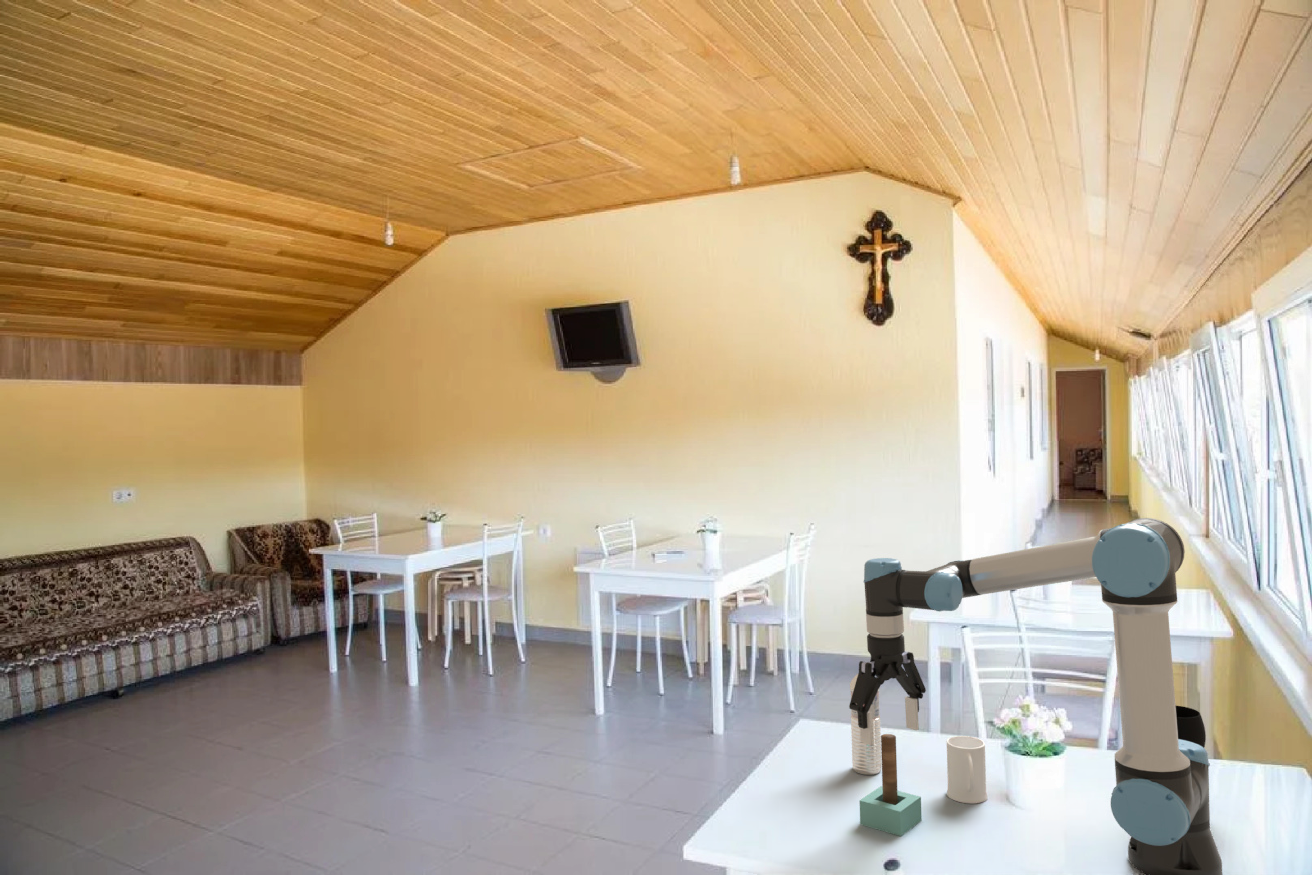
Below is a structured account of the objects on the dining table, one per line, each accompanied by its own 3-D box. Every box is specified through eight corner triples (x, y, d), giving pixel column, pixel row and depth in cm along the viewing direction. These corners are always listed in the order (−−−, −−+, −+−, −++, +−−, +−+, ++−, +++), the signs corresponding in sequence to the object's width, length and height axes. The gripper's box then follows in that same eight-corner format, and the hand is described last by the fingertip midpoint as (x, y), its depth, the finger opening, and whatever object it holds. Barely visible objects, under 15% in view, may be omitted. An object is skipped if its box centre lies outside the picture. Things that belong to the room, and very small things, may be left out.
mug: (990, 811, 196) (988, 755, 196) (948, 808, 198) (946, 752, 198) (985, 789, 207) (984, 736, 207) (946, 786, 210) (944, 734, 209)
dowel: (901, 822, 192) (898, 736, 192) (891, 826, 190) (888, 739, 190) (890, 817, 195) (887, 732, 194) (880, 821, 193) (877, 736, 193)
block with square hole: (921, 820, 193) (920, 796, 193) (901, 836, 186) (900, 811, 186) (881, 809, 199) (880, 786, 199) (860, 824, 192) (859, 800, 192)
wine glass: (1151, 810, 194) (1149, 715, 194) (1150, 791, 203) (1148, 701, 203) (1208, 818, 189) (1206, 721, 189) (1205, 799, 198) (1203, 706, 198)
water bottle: (846, 768, 223) (843, 665, 222) (869, 762, 226) (866, 661, 225) (864, 777, 216) (861, 671, 216) (887, 772, 219) (884, 667, 219)
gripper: (912, 621, 202) (916, 718, 202) (828, 640, 188) (833, 744, 188) (939, 626, 195) (944, 726, 196) (855, 646, 182) (860, 754, 182)
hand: (890, 735), depth 192 cm, fingers open, 13 cm apart
